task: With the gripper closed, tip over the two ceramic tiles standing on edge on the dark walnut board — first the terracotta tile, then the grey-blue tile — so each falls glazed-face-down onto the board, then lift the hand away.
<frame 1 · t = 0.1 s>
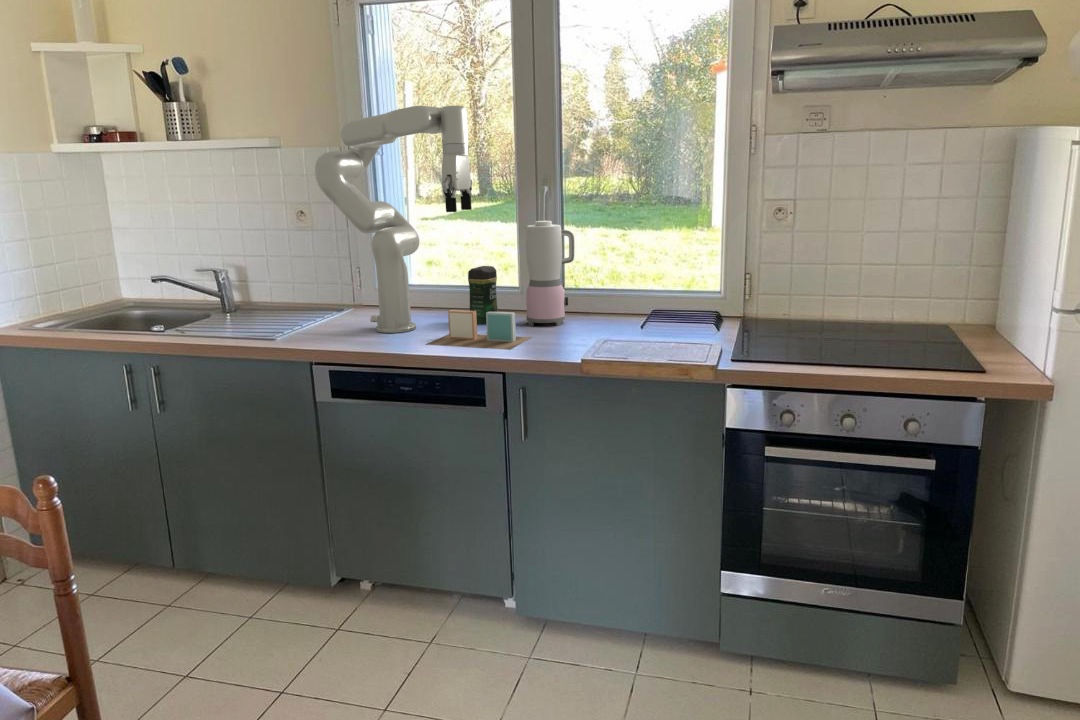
hand: (459, 210, 239), 37 cm above the worktop, tool pointing down, fingers open, 9 cm apart
terracotta tile: (463, 338, 236), point 1 cm above the worktop, touching walnut board
coffee jar: (484, 325, 260), on the worktop
grey-blue tile: (501, 340, 231), point 1 cm above the worktop, touching walnut board
walnut board: (479, 344, 232), on the worktop
blender: (550, 323, 259), on the worktop
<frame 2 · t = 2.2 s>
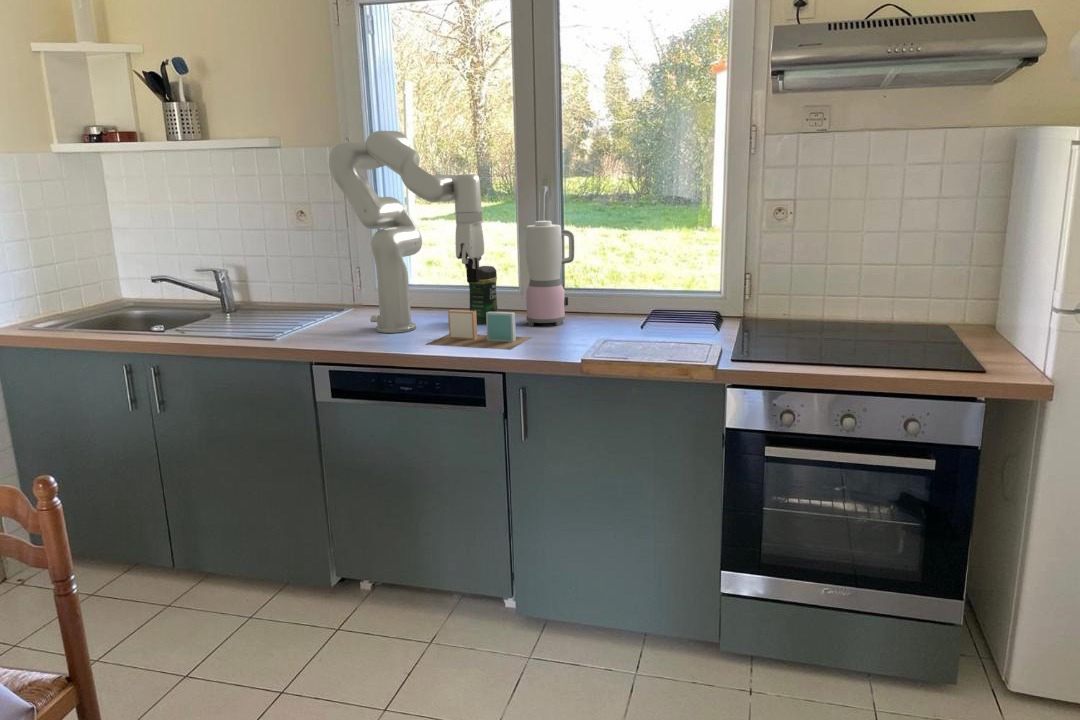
hand: (473, 282, 238), 16 cm above the worktop, tool pointing down, fingers closed
nothing on the worktop moved.
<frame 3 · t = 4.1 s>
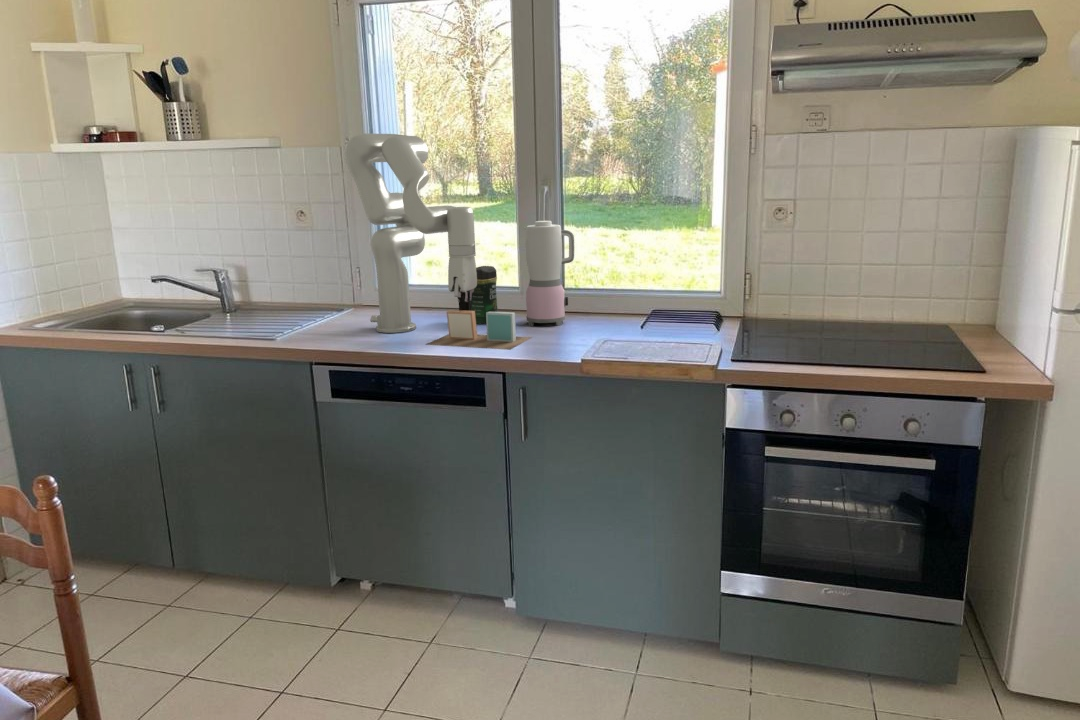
hand: (465, 314, 236), 8 cm above the worktop, tool pointing down, fingers closed
terracotta tile: (463, 337, 236), point 1 cm above the worktop, tilted 7°, touching gripper, walnut board
everything else where it was.
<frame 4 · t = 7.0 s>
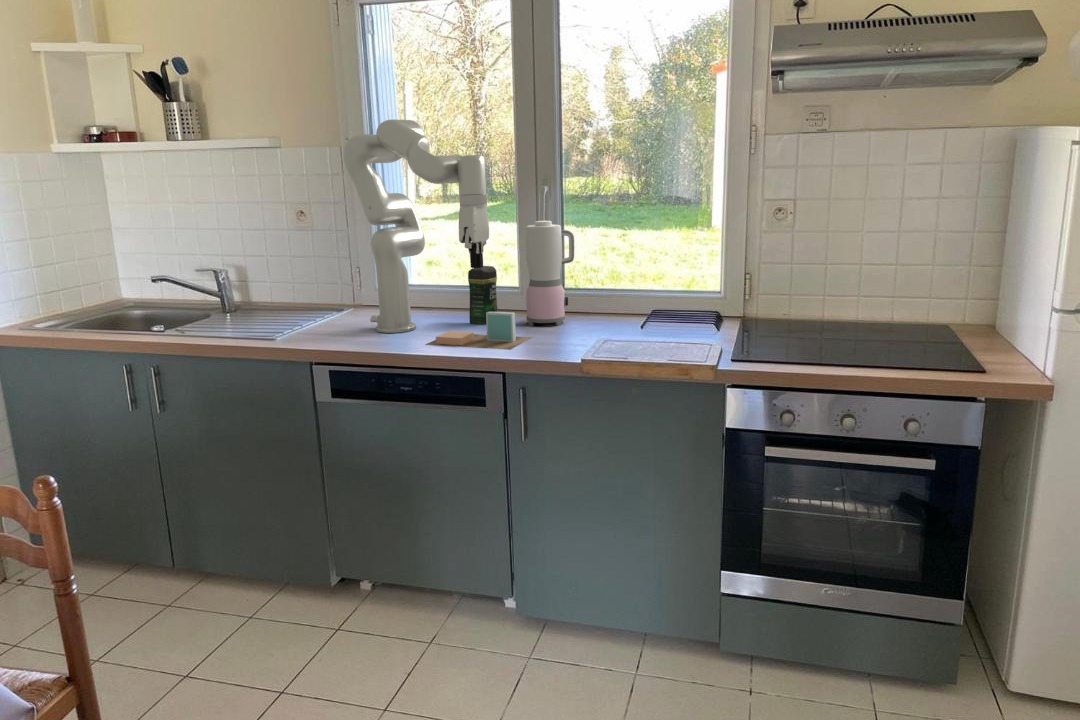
hand: (477, 267, 229), 22 cm above the worktop, tool pointing down, fingers closed
terracotta tile: (461, 335, 234), point 2 cm above the worktop, tilted 90°, touching walnut board
everything else where it was.
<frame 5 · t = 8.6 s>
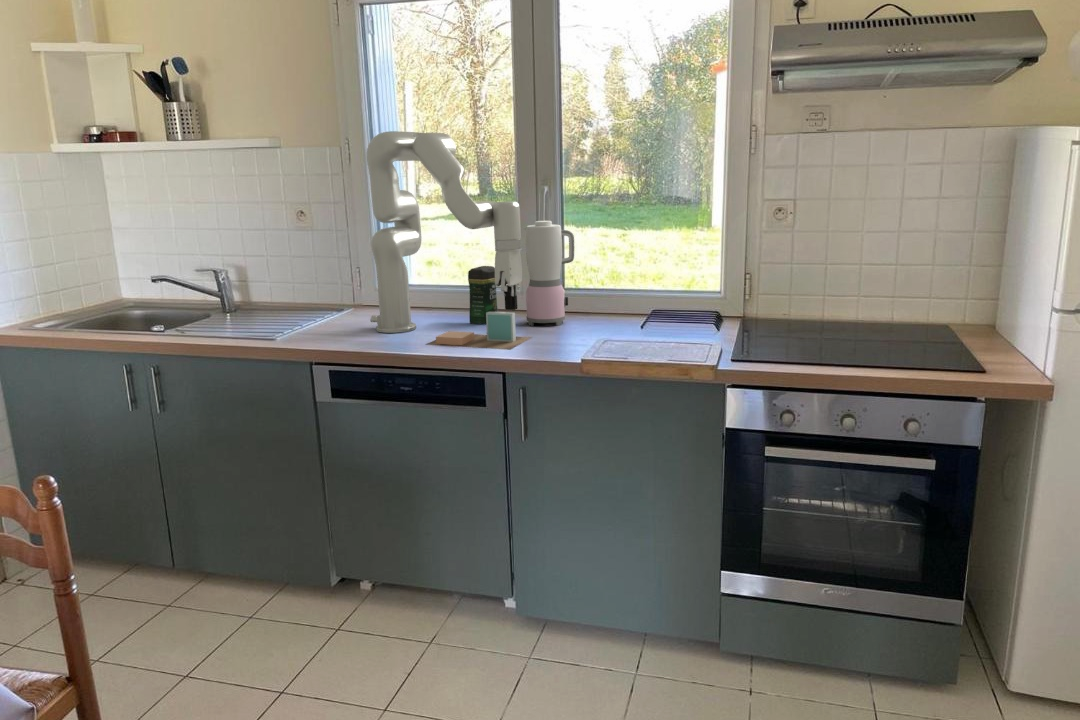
hand: (511, 309, 236), 9 cm above the worktop, tool pointing down, fingers closed
nothing on the worktop moved.
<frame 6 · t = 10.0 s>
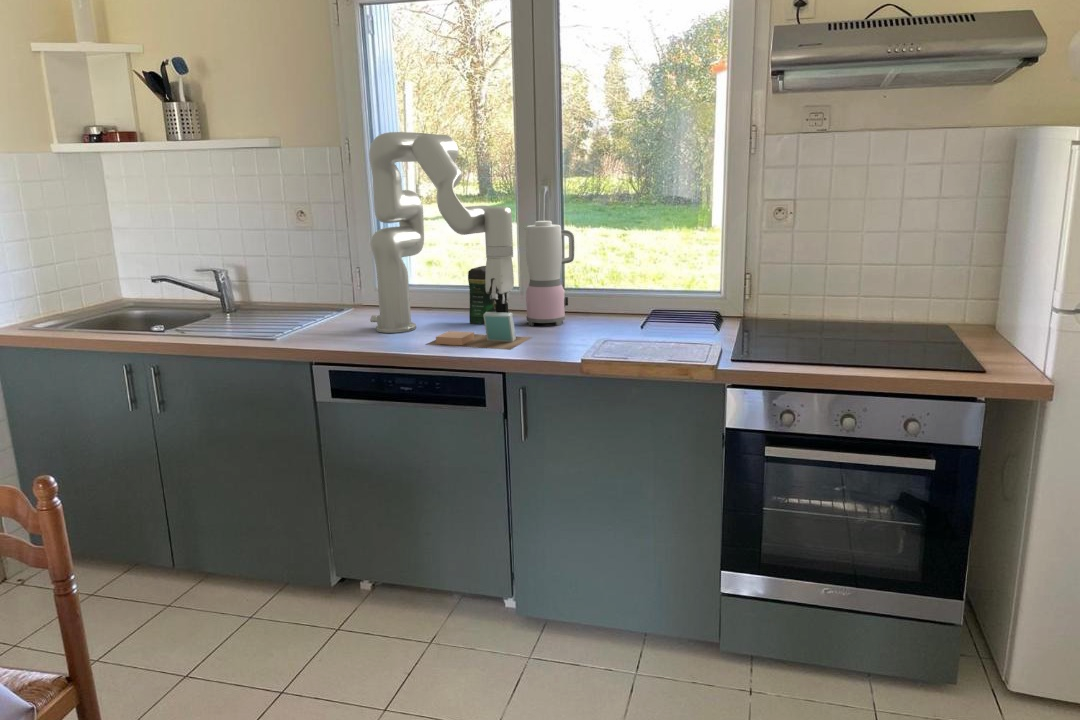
hand: (502, 317, 231), 8 cm above the worktop, tool pointing down, fingers closed
grey-blue tile: (501, 339, 231), point 1 cm above the worktop, tilted 13°, touching walnut board
everything else where it was.
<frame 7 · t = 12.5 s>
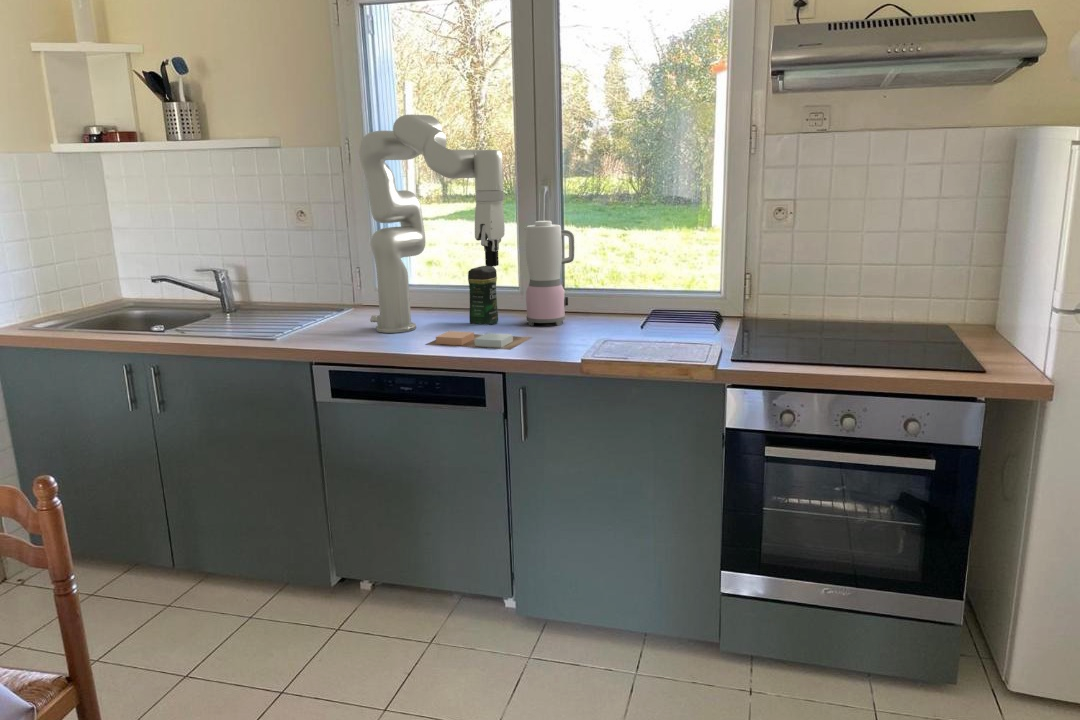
hand: (492, 265, 223), 23 cm above the worktop, tool pointing down, fingers closed
grey-blue tile: (499, 337, 230), point 2 cm above the worktop, tilted 90°, touching walnut board
everything else where it was.
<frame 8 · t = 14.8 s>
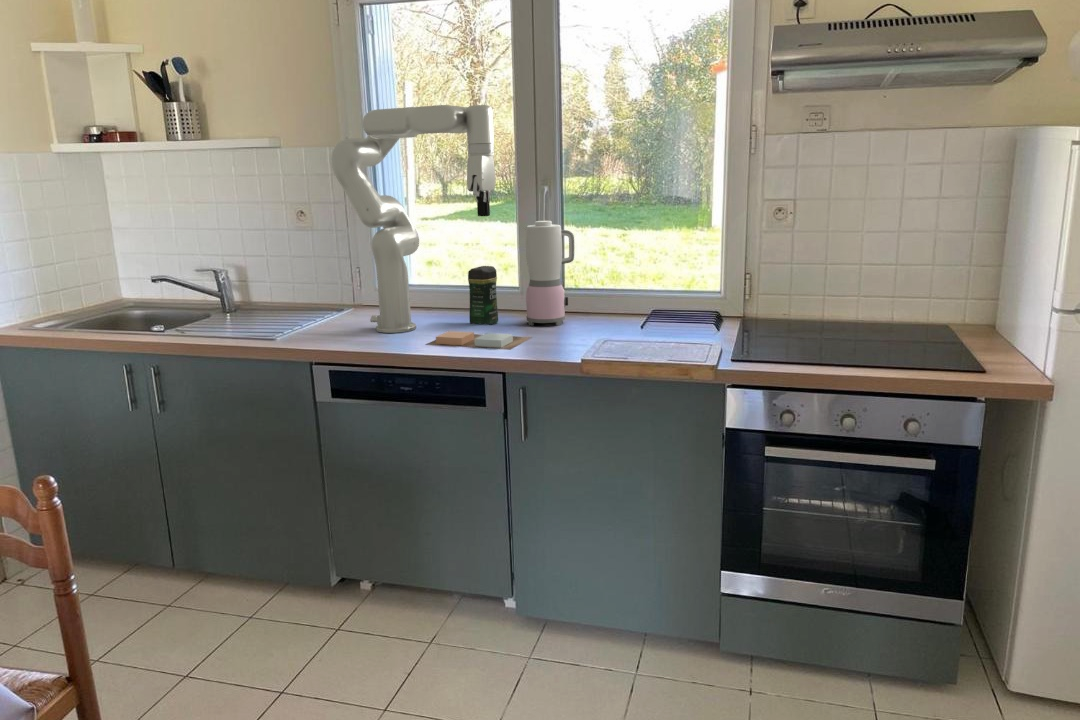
hand: (483, 215, 236), 35 cm above the worktop, tool pointing down, fingers closed
nothing on the worktop moved.
at the end: terracotta tile tilted 90°; grey-blue tile tilted 90°; terracotta tile inside the target area on the walnut board (6.1 cm from its centre), point 2.1 cm above the walnut board's base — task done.
